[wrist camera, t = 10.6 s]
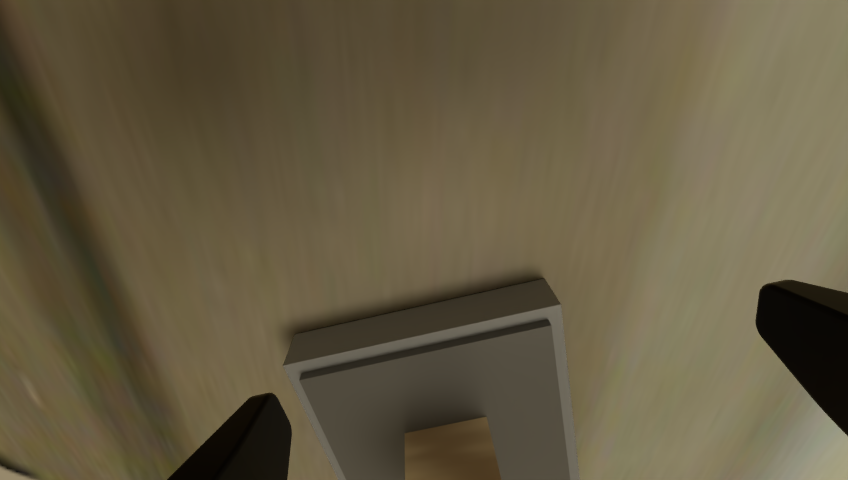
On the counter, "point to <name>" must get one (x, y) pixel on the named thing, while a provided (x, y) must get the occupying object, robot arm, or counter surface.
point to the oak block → (451, 452)
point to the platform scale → (442, 382)
